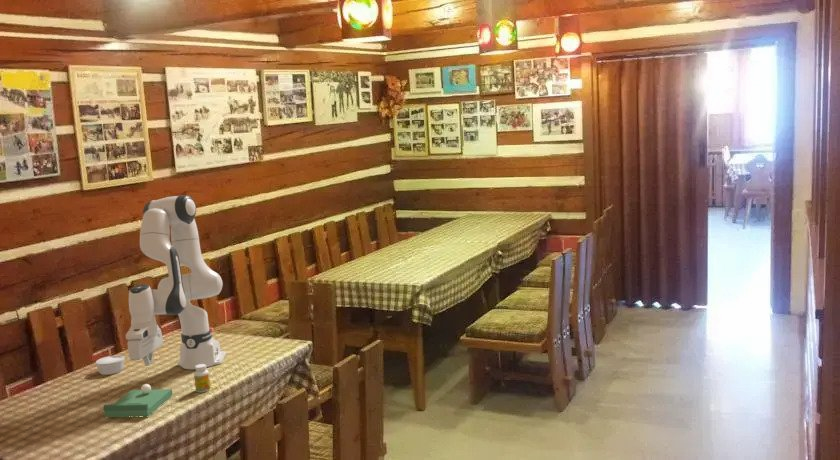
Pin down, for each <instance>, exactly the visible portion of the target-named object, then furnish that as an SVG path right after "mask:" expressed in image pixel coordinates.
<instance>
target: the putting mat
mask: <svg viewBox="0 0 840 460" xmlns="http://www.w3.org/2000/svg"><path fill="white" fill-rule="evenodd" d="M172 395H174V394H173V389H171V388H169V389H168V388H167V389H166V388H165V389H163V388H161V389H151V391H150V393H148V394H144V393H142V391H141V389H130V390H129V391H128V392H127V393H126V394H124V395H123V396H122V397H120V398H119V399H118V400H117V401H115V402H114V403H113V404H103V413H104V418H106V417H127V418H132V417H131V416H134V417H133V418H136V417H135V416H138V417H137V418H140V417H139V416H143V417H142V418H148V417H147V416H149V415H150V414H151V413H152V412H153V411H154V412H156V411H157V410H158V409H159V408H160V407H161V406H162V405H164V404H165V403H166V402H167V401H168V400H170V399H171V398H172V397H173V396H172ZM171 396H172V397H171ZM165 401H166V402H165ZM164 402H165V403H164ZM163 403H164V404H163ZM161 404H162V405H161ZM160 405H161V406H160ZM159 406H160V407H159ZM158 407H159V408H158ZM157 408H158V409H157ZM156 409H157V410H156ZM155 410H156V411H155ZM154 412H153V413H154ZM153 413H152V414H153ZM152 414H151V415H152ZM151 415H150V416H151ZM129 416H130V417H129ZM150 416H149V417H150ZM106 419H107V418H106Z"/></svg>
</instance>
